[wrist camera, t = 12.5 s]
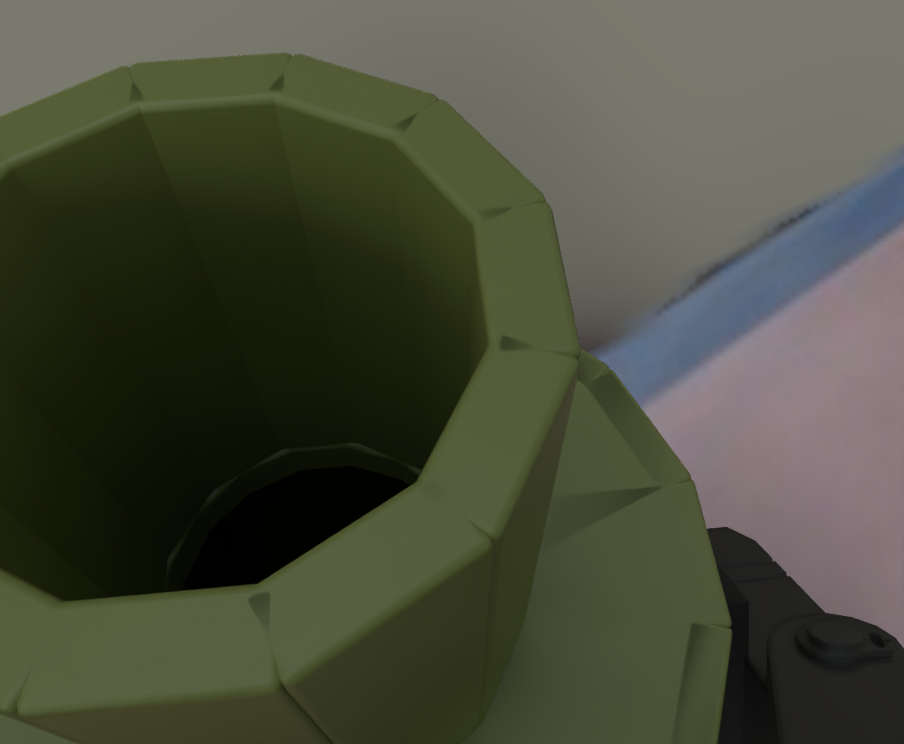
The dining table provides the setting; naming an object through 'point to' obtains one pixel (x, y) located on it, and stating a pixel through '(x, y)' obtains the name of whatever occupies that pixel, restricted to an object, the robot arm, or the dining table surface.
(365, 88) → the oil bottle
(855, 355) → the dining table surface
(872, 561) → the dining table surface
